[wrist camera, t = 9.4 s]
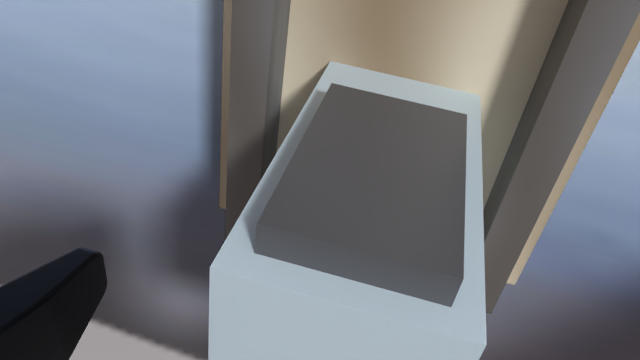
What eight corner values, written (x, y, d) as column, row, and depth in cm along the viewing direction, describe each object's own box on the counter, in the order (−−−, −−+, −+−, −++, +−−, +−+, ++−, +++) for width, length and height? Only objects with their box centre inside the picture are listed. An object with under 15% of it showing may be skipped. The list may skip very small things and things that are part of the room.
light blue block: (438, 213, 16) (415, 480, 9) (311, 180, 16) (207, 414, 10) (487, 73, 13) (501, 316, 7) (333, 39, 14) (210, 236, 7)
